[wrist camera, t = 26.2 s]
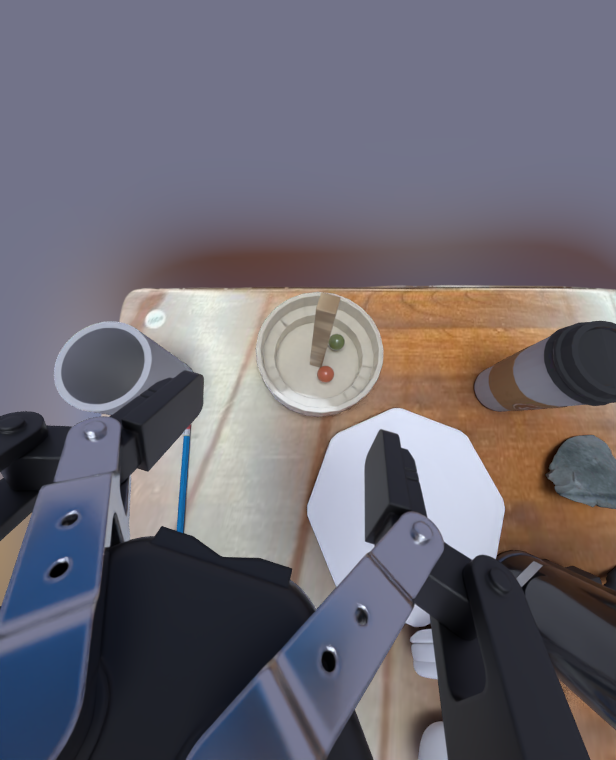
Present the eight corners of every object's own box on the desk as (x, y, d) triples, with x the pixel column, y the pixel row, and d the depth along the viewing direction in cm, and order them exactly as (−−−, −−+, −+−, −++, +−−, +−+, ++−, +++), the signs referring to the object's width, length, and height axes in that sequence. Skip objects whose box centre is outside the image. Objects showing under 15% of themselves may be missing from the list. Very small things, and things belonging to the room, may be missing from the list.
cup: (118, 407, 36) (33, 389, 25) (152, 350, 39) (88, 309, 27) (177, 432, 36) (119, 426, 24) (208, 372, 38) (168, 340, 26)
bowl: (359, 306, 41) (368, 285, 36) (382, 408, 38) (396, 401, 32) (256, 319, 40) (249, 299, 35) (268, 425, 36) (263, 421, 31)
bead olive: (341, 336, 39) (344, 329, 37) (344, 351, 39) (347, 345, 36) (326, 338, 39) (327, 332, 37) (328, 353, 39) (330, 348, 36)
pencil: (191, 424, 36) (189, 424, 36) (181, 565, 32) (179, 568, 32) (185, 424, 36) (183, 424, 36) (175, 566, 32) (172, 568, 32)
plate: (284, 565, 32) (284, 571, 31) (347, 390, 38) (349, 388, 37) (471, 645, 31) (479, 655, 30) (507, 451, 37) (516, 451, 35)
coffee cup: (468, 417, 38) (575, 399, 23) (463, 361, 40) (558, 313, 25) (526, 420, 38) (668, 404, 23) (517, 364, 40) (643, 318, 25)
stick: (324, 356, 39) (341, 296, 23) (321, 368, 38) (335, 314, 23) (312, 353, 39) (321, 291, 23) (309, 364, 38) (315, 309, 23)
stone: (518, 440, 38) (555, 518, 33) (542, 430, 35) (587, 515, 30) (581, 439, 39) (627, 514, 34) (610, 430, 36) (665, 511, 31)
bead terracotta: (337, 368, 37) (328, 380, 38) (323, 359, 37) (314, 372, 38) (337, 375, 35) (328, 388, 36) (322, 366, 35) (313, 380, 36)
